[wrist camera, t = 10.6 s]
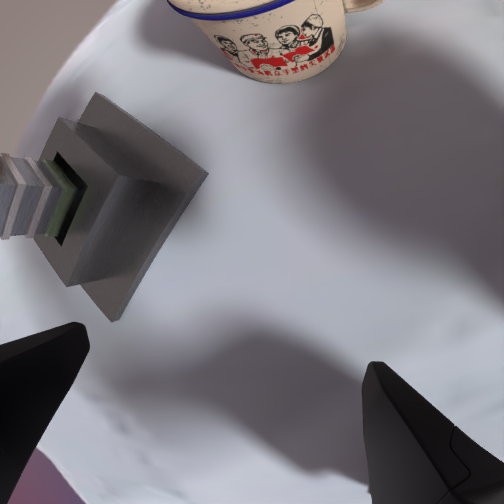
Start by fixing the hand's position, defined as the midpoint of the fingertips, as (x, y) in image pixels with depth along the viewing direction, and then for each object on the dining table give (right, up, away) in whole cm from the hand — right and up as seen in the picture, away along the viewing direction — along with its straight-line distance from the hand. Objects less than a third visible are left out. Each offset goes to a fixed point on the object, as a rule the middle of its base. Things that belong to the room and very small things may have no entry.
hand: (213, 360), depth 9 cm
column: (-13, +7, +10) cm, 18 cm away
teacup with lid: (+5, +18, +9) cm, 21 cm away
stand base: (-11, +7, +15) cm, 20 cm away
